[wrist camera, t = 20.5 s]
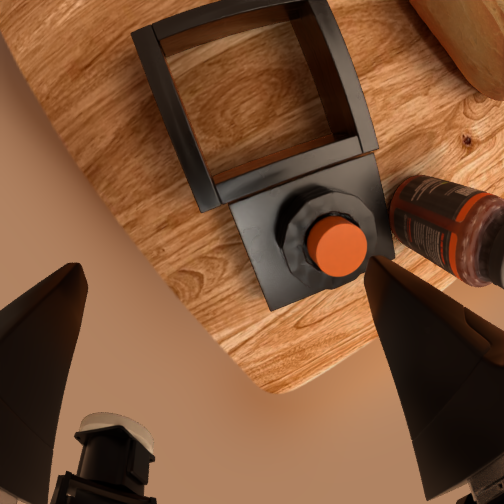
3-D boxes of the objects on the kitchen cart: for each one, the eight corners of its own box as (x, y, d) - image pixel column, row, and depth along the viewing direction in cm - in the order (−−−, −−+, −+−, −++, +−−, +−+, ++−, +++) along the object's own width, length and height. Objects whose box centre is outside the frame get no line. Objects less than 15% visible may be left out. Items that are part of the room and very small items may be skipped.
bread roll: (471, 127, 21) (540, 136, 14) (362, -13, 16) (420, -53, 9) (507, 73, 20) (566, 74, 12) (417, -49, 15) (470, -79, 7)
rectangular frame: (201, 199, 21) (201, 213, 17) (142, 50, 17) (130, 32, 13) (351, 145, 21) (379, 148, 17) (299, 4, 17) (318, -19, 13)
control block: (264, 297, 24) (276, 326, 20) (225, 198, 21) (230, 212, 17) (381, 248, 24) (409, 267, 20) (359, 150, 21) (388, 154, 17)
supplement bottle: (410, 258, 25) (502, 325, 14) (372, 212, 23) (477, 272, 12) (450, 207, 24) (550, 252, 13) (417, 157, 22) (532, 185, 11)
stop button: (314, 273, 20) (323, 285, 18) (299, 226, 18) (309, 235, 17) (359, 254, 20) (371, 264, 18) (348, 208, 18) (361, 215, 17)
